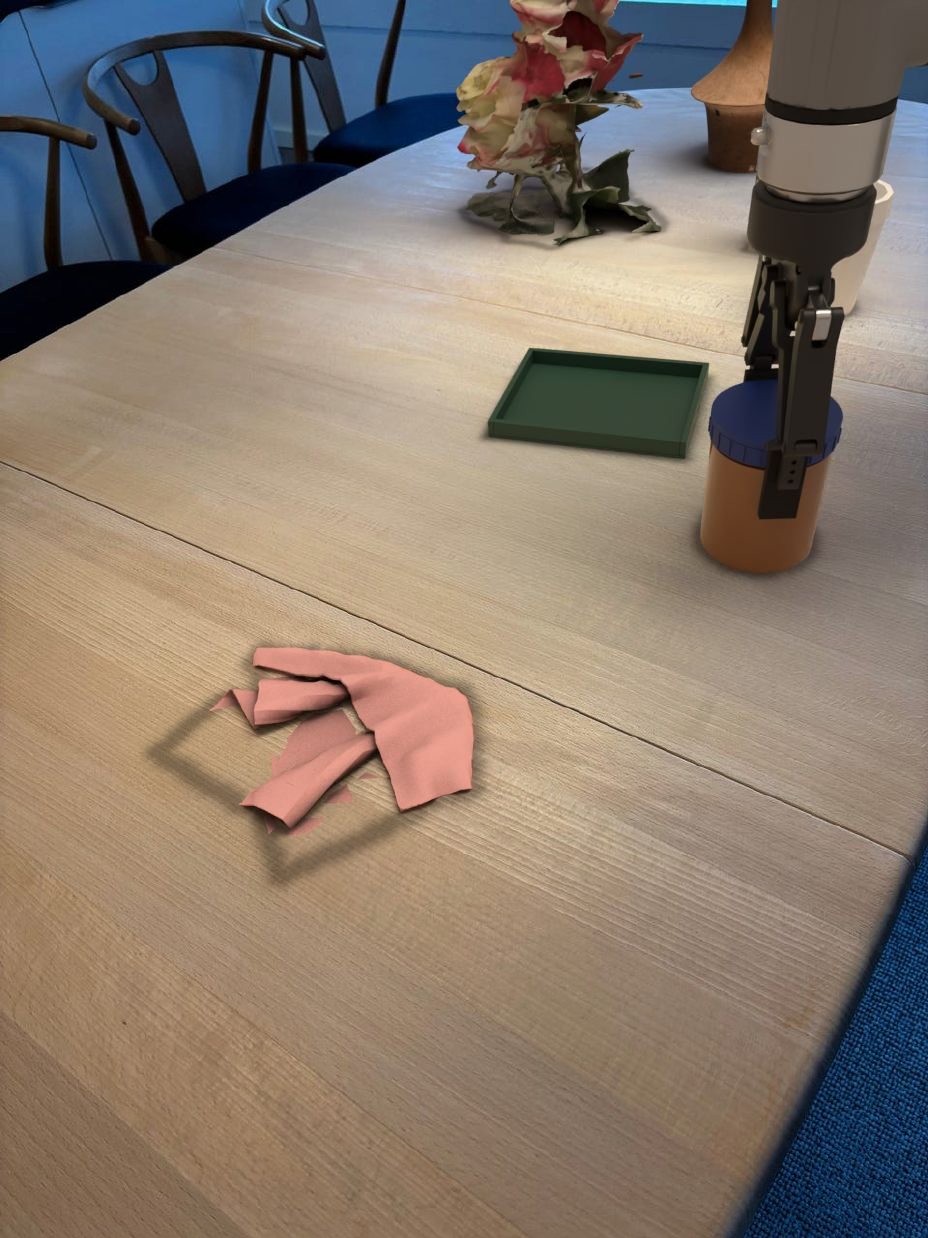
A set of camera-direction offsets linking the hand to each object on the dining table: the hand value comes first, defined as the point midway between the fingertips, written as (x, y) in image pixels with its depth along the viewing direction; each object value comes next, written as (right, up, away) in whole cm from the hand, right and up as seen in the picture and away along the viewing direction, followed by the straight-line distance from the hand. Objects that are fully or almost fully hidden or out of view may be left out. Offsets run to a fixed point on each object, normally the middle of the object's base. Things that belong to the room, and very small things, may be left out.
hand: (763, 477), depth 75 cm
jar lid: (0, +4, -4) cm, 5 cm away
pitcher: (+19, +58, +70) cm, 93 cm away
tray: (-10, +10, +21) cm, 26 cm away
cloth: (-34, -20, -8) cm, 40 cm away
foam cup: (+17, +24, +33) cm, 45 cm away
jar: (+1, -5, +4) cm, 6 cm away
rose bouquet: (-11, +46, +60) cm, 77 cm away
